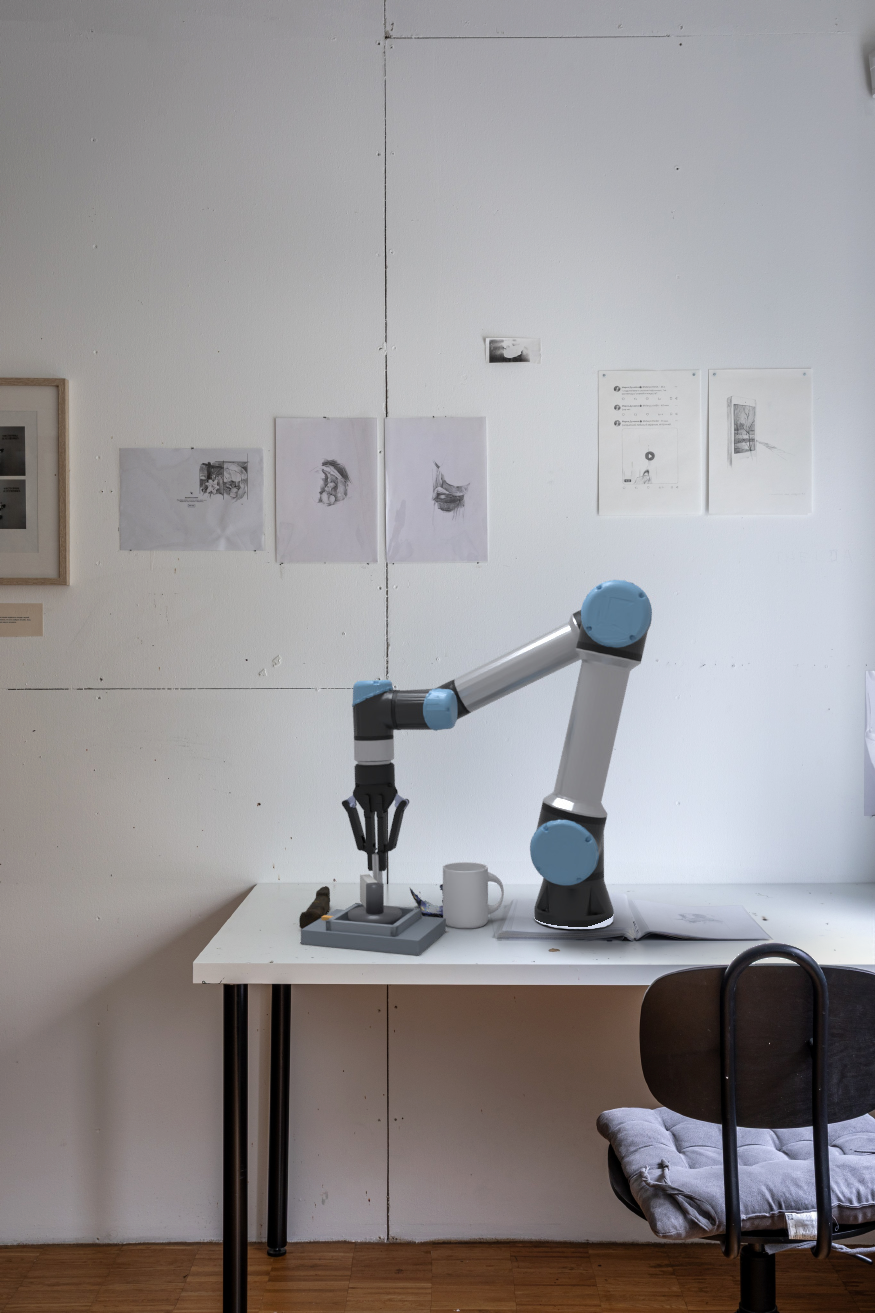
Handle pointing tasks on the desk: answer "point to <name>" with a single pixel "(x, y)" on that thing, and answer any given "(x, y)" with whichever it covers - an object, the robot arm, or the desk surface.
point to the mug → (468, 894)
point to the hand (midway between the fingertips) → (377, 888)
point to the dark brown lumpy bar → (316, 908)
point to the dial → (373, 904)
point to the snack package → (427, 904)
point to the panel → (375, 932)
